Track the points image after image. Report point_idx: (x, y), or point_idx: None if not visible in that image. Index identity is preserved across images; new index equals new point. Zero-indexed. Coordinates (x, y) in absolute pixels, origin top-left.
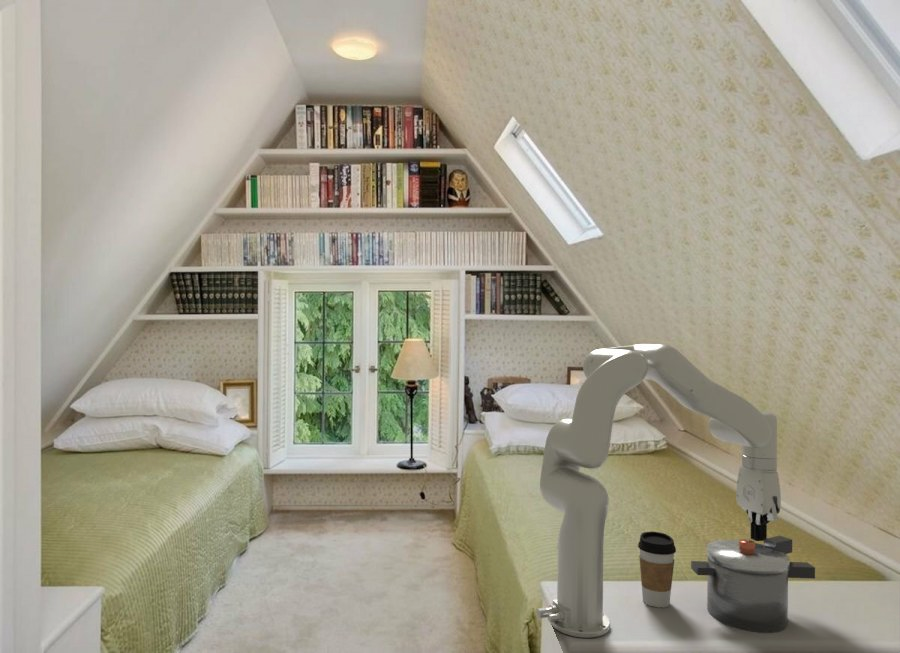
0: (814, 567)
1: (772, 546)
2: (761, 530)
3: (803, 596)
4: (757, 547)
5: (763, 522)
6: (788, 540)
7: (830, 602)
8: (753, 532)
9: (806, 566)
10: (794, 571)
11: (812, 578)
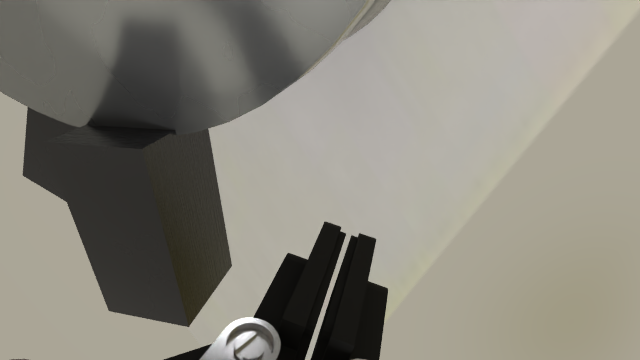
0: (23, 174)
1: (99, 130)
2: (266, 300)
3: (305, 240)
4: (139, 21)
5: (190, 357)
6: (96, 276)
7: (251, 258)
8: (341, 271)
9: (34, 153)
10: None
11: None
